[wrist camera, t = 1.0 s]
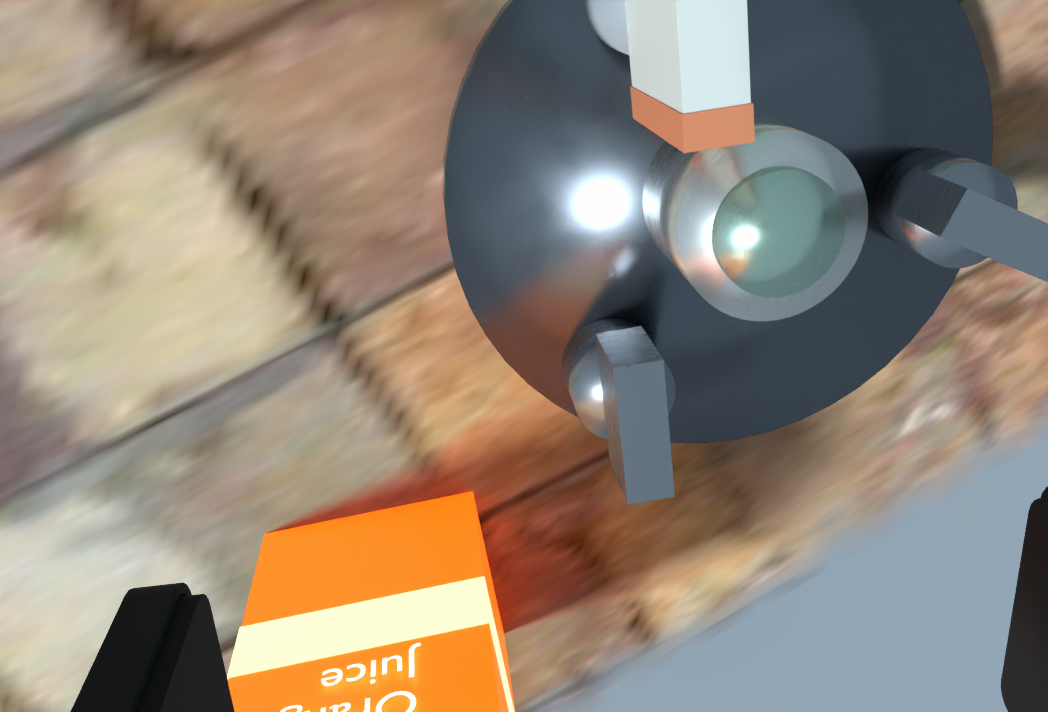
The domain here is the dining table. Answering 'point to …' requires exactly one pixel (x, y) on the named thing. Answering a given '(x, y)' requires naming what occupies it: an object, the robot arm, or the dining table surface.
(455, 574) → the orange juice
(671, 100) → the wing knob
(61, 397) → the dining table surface
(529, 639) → the dining table surface
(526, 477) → the dining table surface
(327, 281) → the dining table surface
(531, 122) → the tribrach base
